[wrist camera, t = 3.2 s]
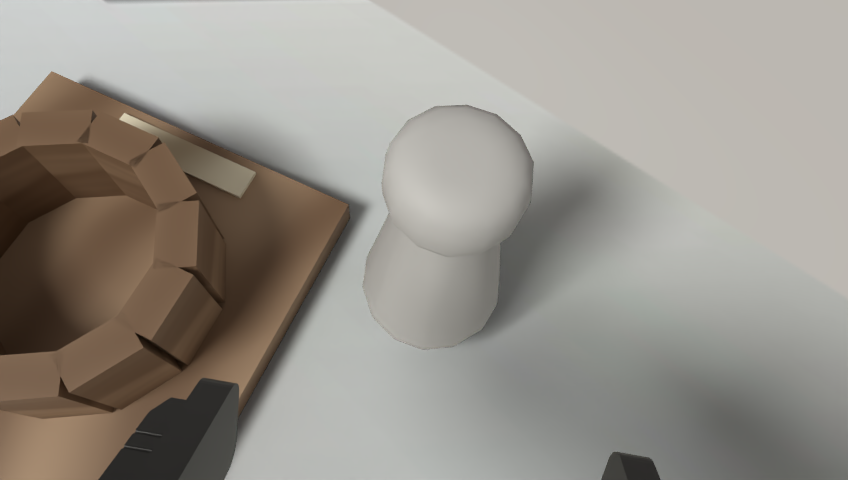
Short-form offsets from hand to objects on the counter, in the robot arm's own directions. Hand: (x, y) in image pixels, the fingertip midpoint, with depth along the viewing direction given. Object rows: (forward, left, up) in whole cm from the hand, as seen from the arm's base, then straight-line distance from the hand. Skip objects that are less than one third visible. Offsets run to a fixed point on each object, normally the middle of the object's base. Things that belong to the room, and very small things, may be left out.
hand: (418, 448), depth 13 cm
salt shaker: (+2, -7, -14) cm, 16 cm away
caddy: (+15, -1, -13) cm, 20 cm away
